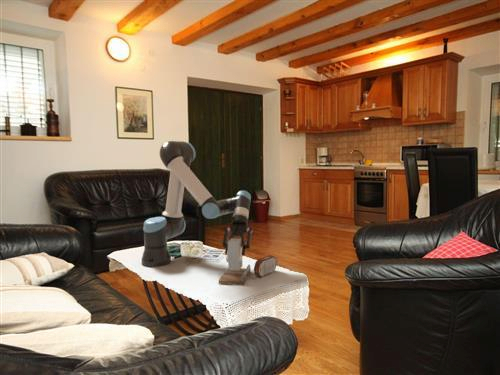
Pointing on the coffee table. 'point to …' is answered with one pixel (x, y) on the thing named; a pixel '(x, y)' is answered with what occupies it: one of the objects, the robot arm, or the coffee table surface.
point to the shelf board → (233, 277)
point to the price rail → (245, 273)
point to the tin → (265, 265)
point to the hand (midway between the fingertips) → (233, 260)
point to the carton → (234, 254)
